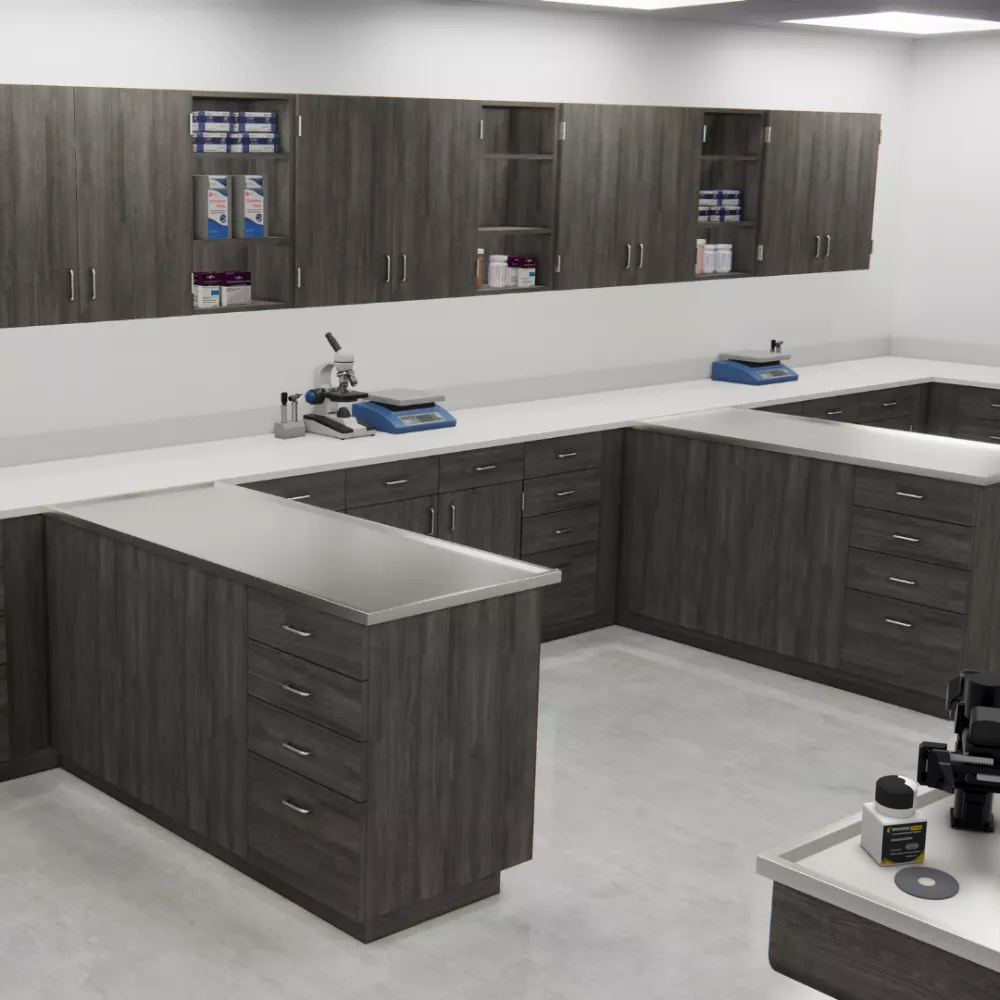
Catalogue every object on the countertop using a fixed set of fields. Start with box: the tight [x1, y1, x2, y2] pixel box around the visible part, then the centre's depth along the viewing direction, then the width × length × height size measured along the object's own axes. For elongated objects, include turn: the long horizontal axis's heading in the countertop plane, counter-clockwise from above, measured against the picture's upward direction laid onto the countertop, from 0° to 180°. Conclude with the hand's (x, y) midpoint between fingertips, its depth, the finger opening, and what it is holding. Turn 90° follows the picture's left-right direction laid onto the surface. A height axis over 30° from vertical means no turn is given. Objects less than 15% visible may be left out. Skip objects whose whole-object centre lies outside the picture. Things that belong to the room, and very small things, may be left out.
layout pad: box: [894, 865, 960, 901], centre depth 209 cm, size 9×9×1 cm
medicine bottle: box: [860, 774, 928, 867], centre depth 216 cm, size 7×7×12 cm
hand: (987, 794), depth 200 cm, fingers open, 9 cm apart
